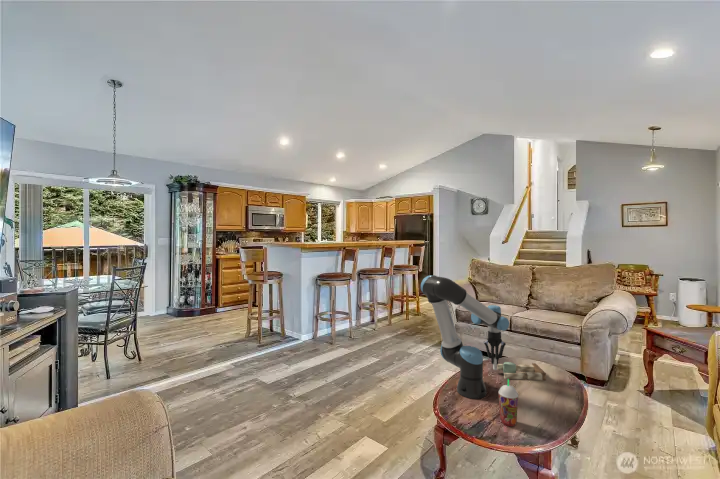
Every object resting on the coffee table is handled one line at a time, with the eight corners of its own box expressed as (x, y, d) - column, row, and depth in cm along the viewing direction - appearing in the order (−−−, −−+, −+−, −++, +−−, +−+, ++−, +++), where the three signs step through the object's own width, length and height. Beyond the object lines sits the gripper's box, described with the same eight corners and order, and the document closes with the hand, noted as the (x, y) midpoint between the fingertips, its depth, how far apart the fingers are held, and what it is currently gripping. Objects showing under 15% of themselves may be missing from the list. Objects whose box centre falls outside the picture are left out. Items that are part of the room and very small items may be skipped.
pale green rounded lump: (505, 376, 202) (505, 366, 202) (501, 371, 209) (501, 361, 209) (517, 376, 202) (517, 366, 201) (513, 371, 209) (513, 362, 208)
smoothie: (509, 430, 147) (508, 385, 147) (494, 420, 155) (494, 377, 155) (522, 425, 151) (522, 381, 150) (507, 416, 158) (507, 374, 158)
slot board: (504, 378, 199) (504, 372, 198) (497, 368, 213) (497, 362, 213) (546, 380, 196) (545, 373, 196) (535, 369, 211) (535, 363, 211)
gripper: (485, 332, 203) (485, 371, 203) (507, 333, 202) (507, 372, 202) (481, 329, 210) (482, 366, 211) (503, 329, 209) (503, 367, 210)
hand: (494, 369), depth 206 cm, fingers closed
